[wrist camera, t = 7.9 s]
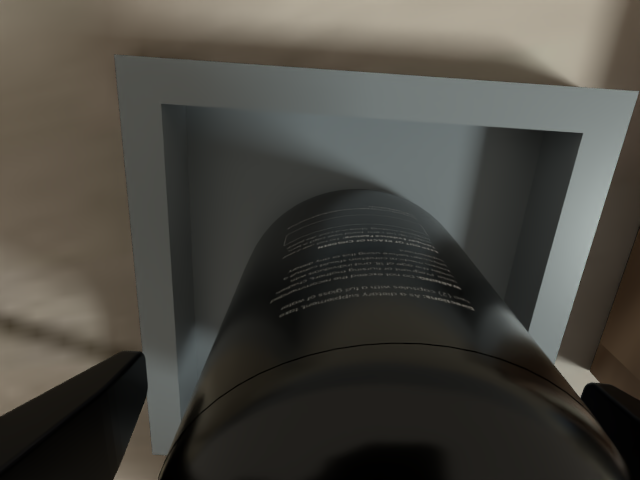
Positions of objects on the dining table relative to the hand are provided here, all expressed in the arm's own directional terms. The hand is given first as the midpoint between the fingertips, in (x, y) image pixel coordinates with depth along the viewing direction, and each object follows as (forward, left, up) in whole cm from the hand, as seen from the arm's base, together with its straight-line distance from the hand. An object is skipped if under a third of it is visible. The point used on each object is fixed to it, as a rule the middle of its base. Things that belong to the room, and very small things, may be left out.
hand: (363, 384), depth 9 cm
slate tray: (0, 0, -6) cm, 6 cm away
